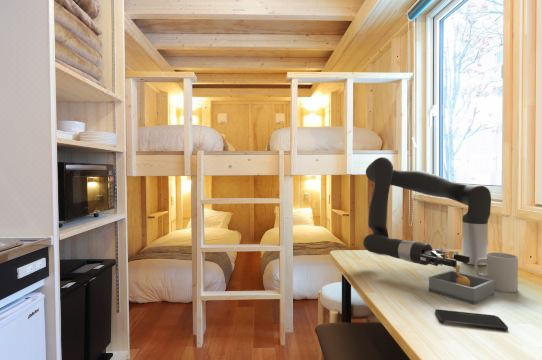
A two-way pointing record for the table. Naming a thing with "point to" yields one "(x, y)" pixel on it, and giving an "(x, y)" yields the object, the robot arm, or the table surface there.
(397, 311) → the table surface
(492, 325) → the phone
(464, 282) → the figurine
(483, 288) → the tote
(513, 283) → the mug
